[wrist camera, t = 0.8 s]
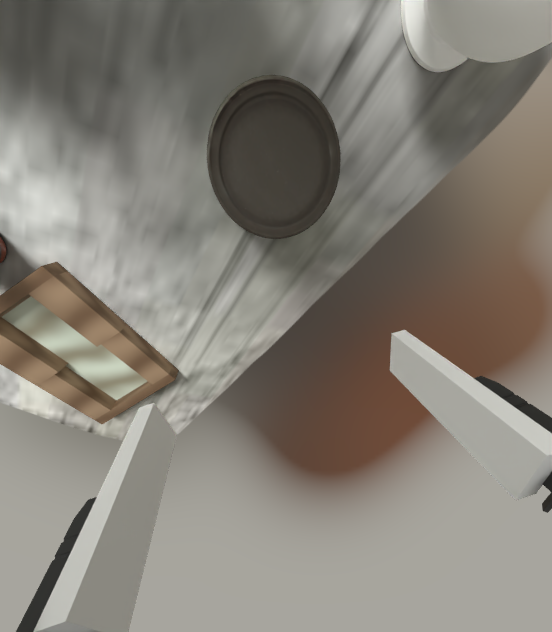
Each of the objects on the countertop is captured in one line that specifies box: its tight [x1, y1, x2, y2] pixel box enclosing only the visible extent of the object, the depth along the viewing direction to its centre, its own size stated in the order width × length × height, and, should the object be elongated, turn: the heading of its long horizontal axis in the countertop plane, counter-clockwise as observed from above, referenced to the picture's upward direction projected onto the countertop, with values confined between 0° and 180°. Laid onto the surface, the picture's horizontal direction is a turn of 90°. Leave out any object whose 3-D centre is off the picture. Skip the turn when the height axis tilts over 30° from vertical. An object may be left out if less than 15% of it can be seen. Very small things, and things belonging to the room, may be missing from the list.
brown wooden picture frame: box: [0, 262, 179, 424], centre depth 33 cm, size 23×16×2 cm
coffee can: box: [207, 75, 340, 239], centre depth 23 cm, size 10×10×14 cm
